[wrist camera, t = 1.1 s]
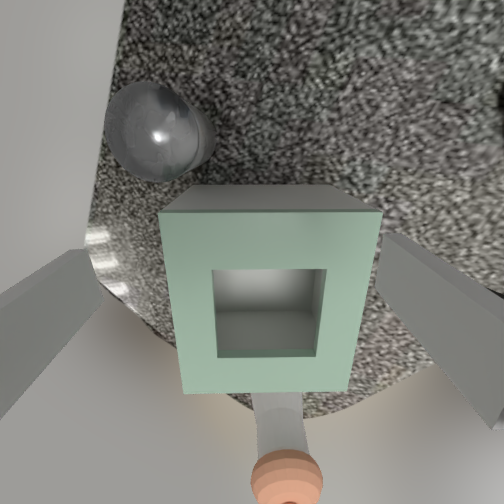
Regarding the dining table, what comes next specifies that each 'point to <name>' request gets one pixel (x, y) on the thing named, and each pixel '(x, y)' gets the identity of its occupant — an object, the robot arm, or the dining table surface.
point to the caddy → (267, 285)
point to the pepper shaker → (283, 452)
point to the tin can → (157, 132)
